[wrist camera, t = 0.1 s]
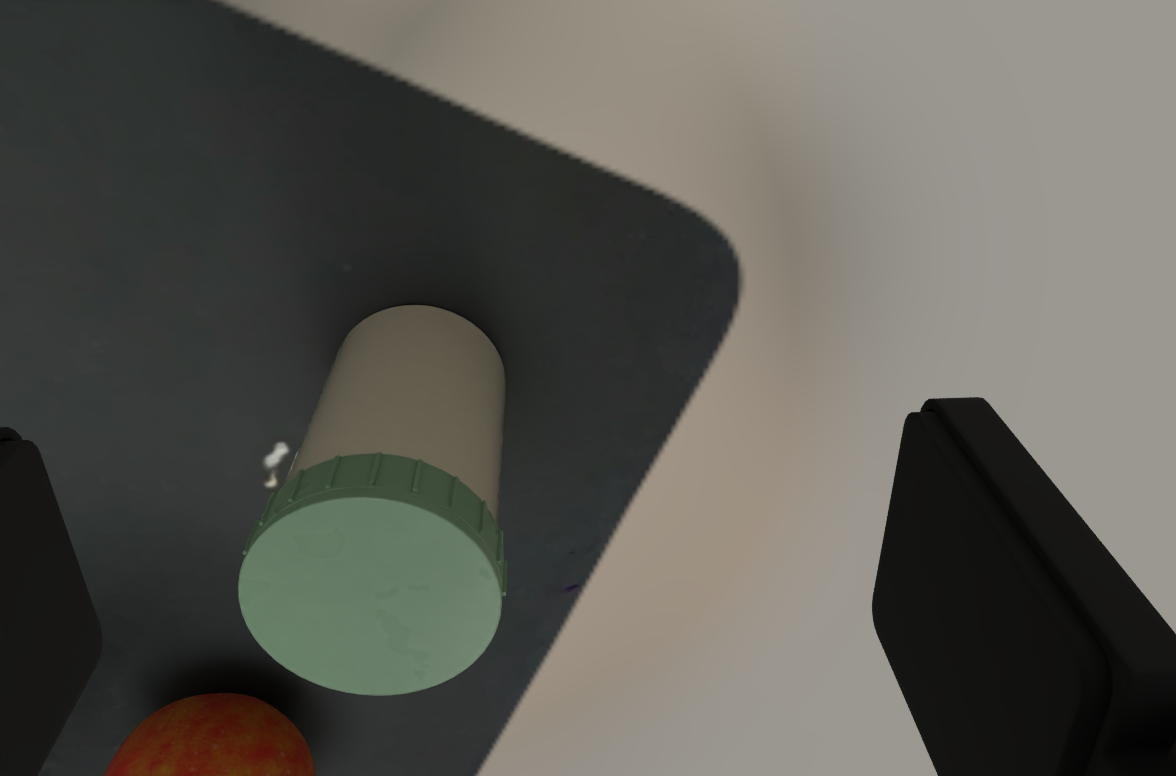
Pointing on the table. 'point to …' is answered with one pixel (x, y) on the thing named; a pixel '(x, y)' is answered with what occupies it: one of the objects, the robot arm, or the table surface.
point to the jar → (414, 397)
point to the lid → (374, 575)
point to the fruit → (214, 741)
